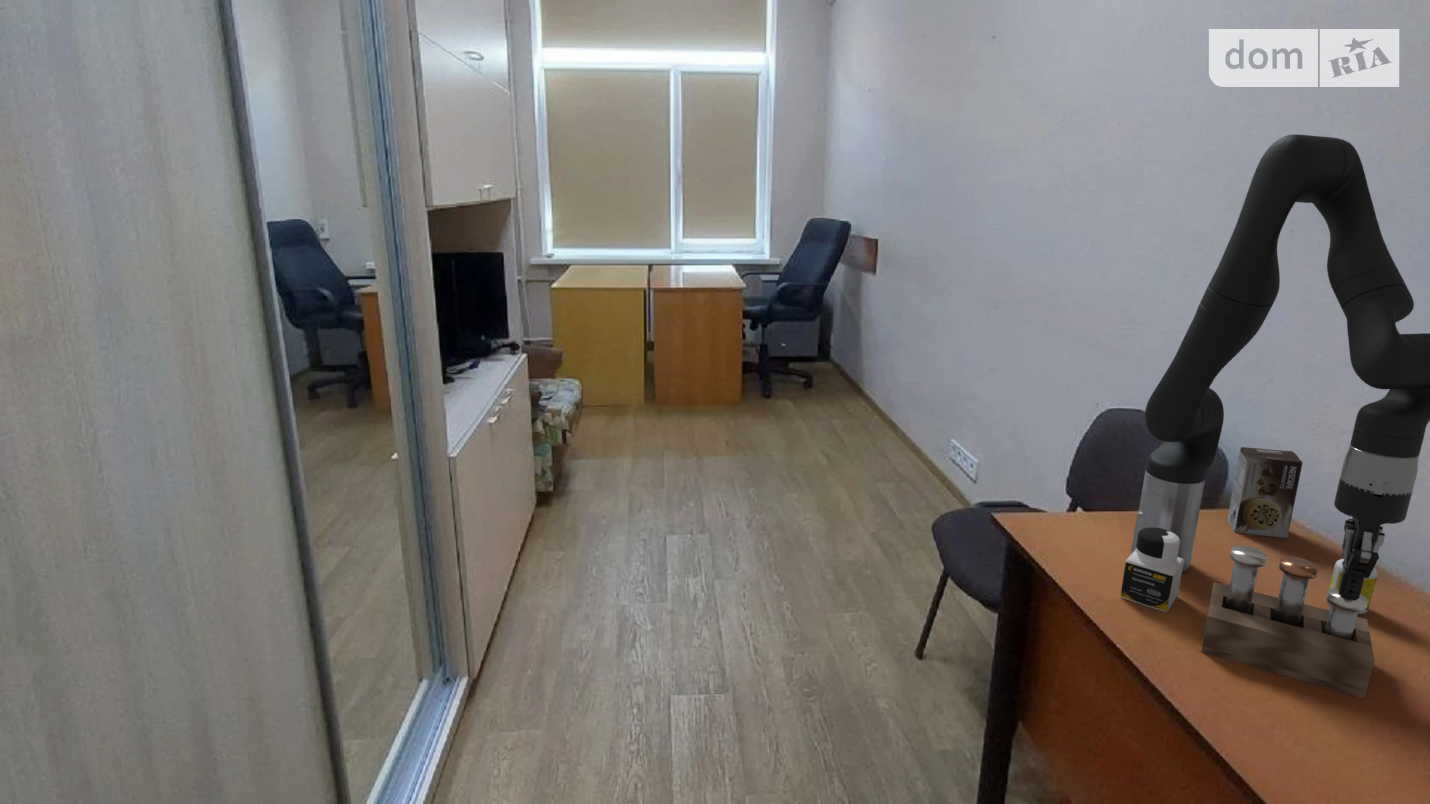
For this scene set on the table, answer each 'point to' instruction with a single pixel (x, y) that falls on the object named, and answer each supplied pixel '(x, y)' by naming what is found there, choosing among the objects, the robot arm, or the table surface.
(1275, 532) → the coffee box
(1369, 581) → the supplement bottle
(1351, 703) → the table surface
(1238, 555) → the knob left
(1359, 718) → the table surface
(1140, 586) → the medicine bottle
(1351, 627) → the knob right
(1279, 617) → the copper and grey cylinder
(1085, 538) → the table surface
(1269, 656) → the mount
